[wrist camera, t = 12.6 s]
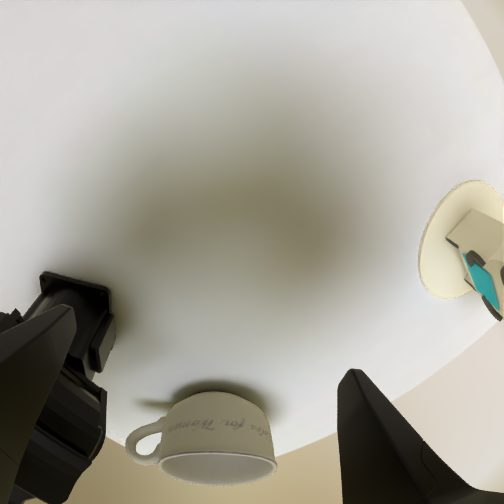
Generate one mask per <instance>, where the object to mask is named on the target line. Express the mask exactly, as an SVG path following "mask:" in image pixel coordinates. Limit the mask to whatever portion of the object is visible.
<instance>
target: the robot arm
mask: <svg viewBox="0 0 504 504" xmlns="http://www.w3.org/2000/svg"><path fill="white" fill-rule="evenodd" d="M45 278H46V279H45ZM39 279H40V286H41V292H42V293H41V294H40V295H39V297H38V298H37V299H36V300H35V302H34V303H33V304H32V305H31V307H30V308H29V309H28V311H27V312H26V313H25V314H24V316H23V317H22V316H21V313H20V312H19V311H18V310H17V309H16V308H15V310H14V311H13V312H12V313H11V314H9V313H7V314H5V313H2V312H0V504H24V502H25V501H27V500H30V499H35V498H38V499H40V500H42V501H43V502H46V503H47V504H62V503H63V502H65V501H66V500H67V499H68V497H69V495H70V493H71V491H72V489H73V487H74V485H75V483H76V481H77V479H78V478H79V477H80V475H81V474H82V473H83V472H84V471H85V470H86V469H87V468H88V467H89V466H90V465H91V464H92V461H93V460H94V459H95V457H96V456H97V455H98V453H99V451H100V450H101V448H102V445H103V443H104V439H105V434H106V407H107V391H105V390H104V389H103V388H101V387H98V386H97V385H96V384H95V383H93V382H92V379H93V376H94V374H95V372H97V373H101V372H102V371H103V369H104V366H105V363H106V361H107V358H108V356H109V353H110V351H111V350H112V348H113V343H114V341H115V338H116V336H115V319H114V315H113V313H111V294H110V291H109V289H107V288H106V287H103V286H98V285H94V284H90V283H86V282H82V281H78V280H74V279H70V278H66V277H62V276H58V275H55V274H51V273H47V272H43V273H42V274H41V275H40V277H39ZM102 292H103V293H105V295H103V294H102ZM337 431H338V442H339V454H340V466H341V480H342V497H343V504H504V493H499V492H490V491H483V490H479V489H476V488H474V487H472V486H470V485H469V484H467V483H466V482H465V481H464V480H463V479H462V478H461V477H460V476H459V475H457V474H456V473H455V472H454V471H453V470H452V469H451V468H450V467H449V466H448V465H447V464H446V463H445V462H444V461H443V460H442V459H441V458H440V457H439V456H438V455H437V454H436V453H435V452H434V451H433V450H432V449H431V448H430V447H429V446H428V444H427V443H426V442H425V441H423V439H422V438H421V436H420V435H419V434H418V433H417V432H416V431H415V430H414V429H413V427H412V426H411V425H410V424H409V423H408V422H407V420H406V419H405V418H404V417H403V416H402V415H401V414H400V413H399V411H398V410H397V409H396V408H395V407H394V406H393V405H392V404H391V402H390V401H389V400H388V399H387V398H386V397H385V395H384V394H383V393H382V392H381V391H380V390H379V389H378V388H377V386H376V385H375V384H374V383H373V382H372V381H371V380H370V378H369V377H368V376H367V375H366V374H365V373H364V372H363V371H362V370H360V369H349V370H348V371H347V373H346V374H345V376H344V377H343V379H342V380H341V382H340V383H339V385H338V390H337Z"/></svg>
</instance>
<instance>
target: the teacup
mask: <svg viewBox="0 0 504 504" xmlns="http://www.w3.org/2000/svg"><path fill="white" fill-rule="evenodd" d="M159 432H162V436H161V442H160V443H159V444H158V445H157V447H156V449H155V450H154V451H153V453H151V454H149V455H145V456H144V455H140V454H138V453H137V452H136V444H137V443H138V441H139V440H141V439H142V438H144V437H146V436H148V435H151V434H154V433H159ZM125 448H126V452H127V454H128V456H129V457H130V458H131V459H132V460H133V461H134V462H136V463H137V464H139V465H143V466H149V465H154V464H157V463H158V468H159V469H160V471H162V472H163V473H164V474H166V475H167V476H169V477H171V478H173V479H176V480H180V481H184V482H187V483H192V484H199V485H207V486H233V485H242V484H248V483H252V482H256V481H259V480H262V479H265V478H267V477H269V476H271V475H272V474H274V473H275V472H276V470H277V463H276V462H275V457H274V449H273V442H272V436H271V431H270V426H269V423H268V420H267V418H266V416H265V414H264V413H263V412H262V411H261V409H260V408H258V407H257V406H256V405H254V404H253V403H251V402H249V401H247V400H245V399H243V398H241V397H239V396H237V395H234V394H230V393H226V392H214V391H213V392H202V393H198V394H195V395H192V396H190V397H188V398H186V399H184V400H182V401H180V402H178V403H176V404H175V405H174V406H173V407H172V408H171V409H170V410H169V411H168V413H167V415H166V417H161V418H160V419H159V420H158V421H157V422H154V423H151V424H148V425H145V426H142V427H140V428H138V429H136V430H134V431H133V432H132V433H131V434H129V436H128V437H127V439H126V443H125Z"/></svg>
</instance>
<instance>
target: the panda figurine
mask: <svg viewBox="0 0 504 504" xmlns="http://www.w3.org/2000/svg"><path fill="white" fill-rule="evenodd" d="M418 270H419V275H420V279H421V281H422V283H423V285H424V287H425V288H426V289H427V291H428V292H429V293H430V294H432V295H433V296H435V297H437V298H440V299H453V298H457V297H460V296H462V295H464V294H466V293H467V292H469V291H470V290H472V289H474V290H475V291H477V292H478V293H479V294H480V295H481V296H482V299H483V301H484V303H485V305H486V307H487V308H488V310H489V311H490V313H491V314H492V315H493V316H494V317H495V318H496V319H497V320H499V321H501V320H502V319H504V204H503V201H502V198H501V196H500V195H499V193H498V192H497V190H496V189H495V188H494V187H493V186H491V185H490V184H488V183H486V182H483V181H480V180H471V181H466V182H464V183H462V184H460V185H458V186H456V187H455V188H453V189H452V190H451V191H450V192H449V193H448V194H447V195H446V196H445V197H444V198H443V199H442V200H441V201H440V203H439V204H438V205H437V207H436V208H435V210H434V211H433V213H432V215H431V217H430V219H429V221H428V223H427V225H426V227H425V230H424V233H423V236H422V239H421V243H420V248H419V255H418Z"/></svg>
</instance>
